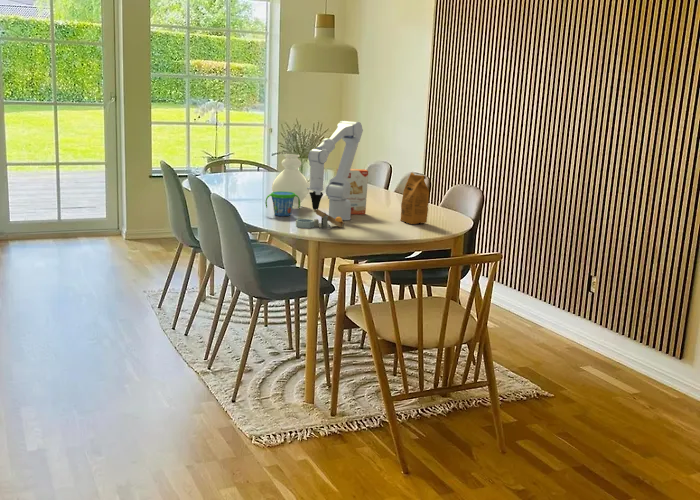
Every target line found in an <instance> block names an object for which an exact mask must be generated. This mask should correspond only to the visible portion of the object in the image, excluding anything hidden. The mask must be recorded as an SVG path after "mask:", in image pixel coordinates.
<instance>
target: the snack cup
mask: <svg viewBox="0 0 700 500" xmlns="http://www.w3.org/2000/svg"><path fill="white" fill-rule="evenodd" d="M295 196H296V197H298V196H297V195H296V194H295V193H293V192H286V191H277V192H273V191H272V192H270V194H268V195H267V196H266V198H265V202H264V203H265V207H266V209H268V198H270V197H271V200H272V205H273V206H272V207H273V214H274V215H275V216H277V217H288V216H290V215H291V216H292V210H293V209H292V206H293V200H294V197H295ZM300 205H301V203H300V199H299V197H298V208H299V207H300Z"/></svg>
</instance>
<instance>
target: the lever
mask: <svg viewBox="0 0 700 500" xmlns="http://www.w3.org/2000/svg"><path fill="white" fill-rule="evenodd" d="M312 210H313V212H314V213H315V214H316V215H317V216H319V217H321V218H324V216H328V222H330V223H332V224H334V225H335V226H337V227H339V228H341V229H342V227H344V226H343V225H345V222H344V220H342V222H341V223H339V222H338V221H336V220H335V219H334V218H333V217H331V216H329V214H327V213H326V212H325V211H324V212H323V211H322V210H320V209H319V208H318V209H313V208H312ZM325 213H326V214H325Z"/></svg>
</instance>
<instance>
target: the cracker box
mask: <svg viewBox="0 0 700 500" xmlns="http://www.w3.org/2000/svg"><path fill="white" fill-rule="evenodd" d="M337 171H338V168H336V172H335V173H336V174H337ZM336 174H335V175H336ZM347 180H348V182H349V183H350V185H351V187H350V195H349V197H348V198H347V199H348V200H350V203H351V215H362V216H363V215H366V211H367V198H368V197H367V195H368V183H369V182H368V180H369V170H367V169H365V168H362V169H360V168H351V169H350V172H349V175H348V179H347Z"/></svg>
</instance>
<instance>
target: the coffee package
mask: <svg viewBox="0 0 700 500" xmlns="http://www.w3.org/2000/svg"><path fill="white" fill-rule="evenodd" d="M426 178H427V177H426V176H425V175H424V174H423V175H421V174H419V175H418V174H415V173H414V172H411V173H410V174H409V176H408V179H407V181H406V183H405V186H404V189H403V192H402V193H403V194H402V198H401V203H400V204H401V205H400V208H401V209H400V221H401V222H404V223H405V222H406V223H405V224H407V223H409V224H408V225H412V224H414V225H417V224H418V225H419V223H420V224H425V223H427V222H428V213H429V208H428V206H429V198H430V197H429V195H430V190H429V187H428V186H427V184H426V181H425V179H426Z"/></svg>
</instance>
